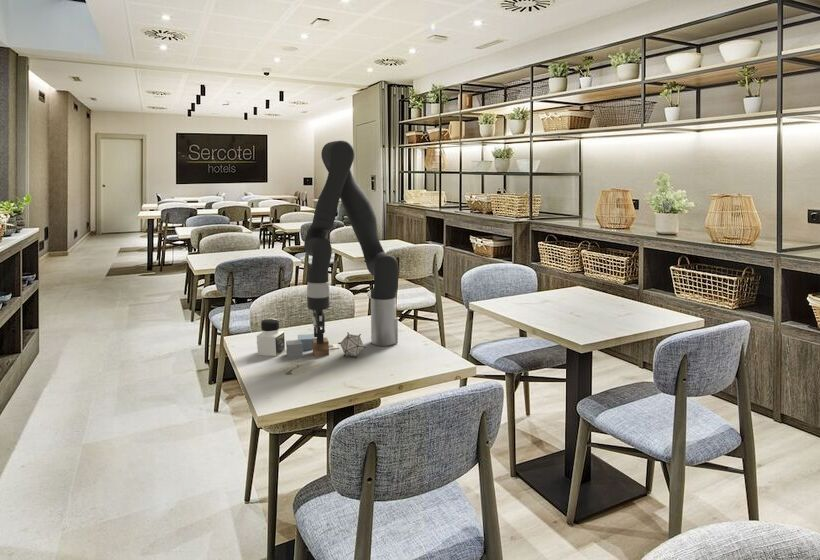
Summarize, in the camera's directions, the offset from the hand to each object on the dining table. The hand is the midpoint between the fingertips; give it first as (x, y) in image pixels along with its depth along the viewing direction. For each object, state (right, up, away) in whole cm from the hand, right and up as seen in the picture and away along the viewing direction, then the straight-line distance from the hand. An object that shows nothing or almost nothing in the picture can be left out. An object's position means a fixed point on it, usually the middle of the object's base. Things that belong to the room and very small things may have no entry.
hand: (318, 340), depth 196 cm
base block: (-6, -3, +9) cm, 11 cm away
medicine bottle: (-17, -5, +2) cm, 18 cm away
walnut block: (+1, -5, +1) cm, 5 cm away
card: (+3, -3, +8) cm, 9 cm away
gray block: (-8, -5, -1) cm, 10 cm away
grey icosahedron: (+12, -5, -2) cm, 13 cm away
